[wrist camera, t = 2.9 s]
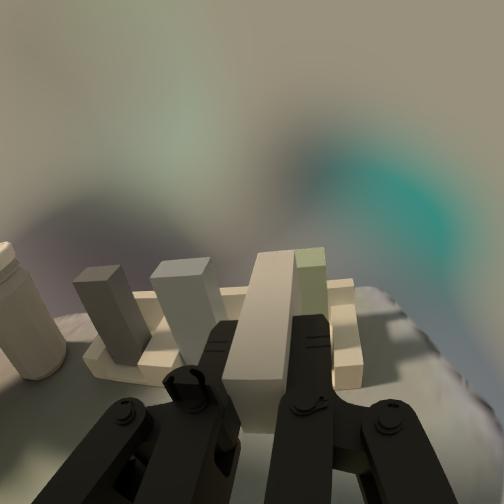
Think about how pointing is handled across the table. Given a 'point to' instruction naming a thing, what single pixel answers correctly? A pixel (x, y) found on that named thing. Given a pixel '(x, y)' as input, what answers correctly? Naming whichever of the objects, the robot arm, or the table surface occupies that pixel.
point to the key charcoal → (114, 312)
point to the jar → (26, 322)
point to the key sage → (312, 281)
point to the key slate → (189, 302)
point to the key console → (166, 350)
